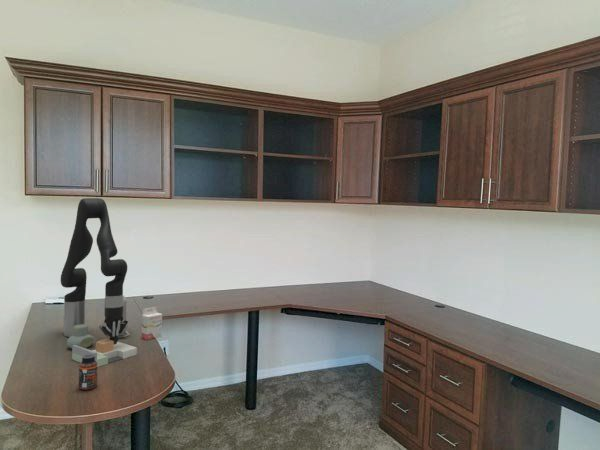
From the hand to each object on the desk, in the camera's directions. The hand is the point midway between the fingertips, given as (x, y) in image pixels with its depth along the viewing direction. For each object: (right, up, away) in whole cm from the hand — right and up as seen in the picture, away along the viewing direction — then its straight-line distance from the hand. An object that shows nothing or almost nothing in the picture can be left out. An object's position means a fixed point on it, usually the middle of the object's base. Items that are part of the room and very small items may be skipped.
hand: (113, 344), depth 186 cm
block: (-2, -2, -4) cm, 5 cm away
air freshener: (-19, -4, +8) cm, 21 cm away
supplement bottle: (+5, -6, -34) cm, 34 cm away
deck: (-2, -5, -3) cm, 6 cm away
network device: (-12, -3, +32) cm, 35 cm away
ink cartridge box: (+8, -4, +26) cm, 27 cm away
